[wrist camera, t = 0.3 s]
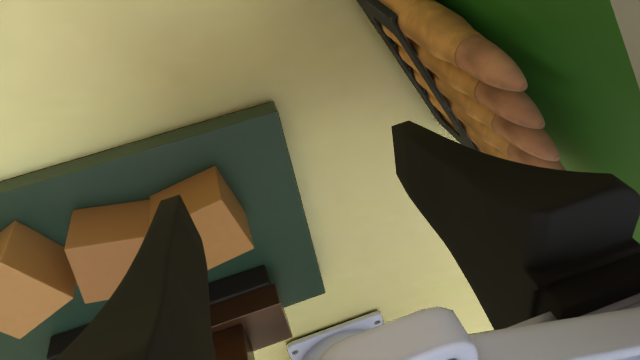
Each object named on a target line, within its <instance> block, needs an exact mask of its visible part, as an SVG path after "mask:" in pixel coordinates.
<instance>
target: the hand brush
mask: <svg viewBox="0 0 640 360" xmlns="http://www.w3.org/2000/svg"><path fill="white" fill-rule="evenodd" d="M208 285H209V301H210V318H211V330H212V339H213V344H214V350H215V356H216V360H255V358H254V353H253V351H255V350H258V349H261V348H264V347H266V346H269V345H272V344H275V343H277V342H280V341H283V340H286V339H289V338H291V337H292V333H291V329H290V326H289V322H288V319H287V316H286V313H285V310H284V307H283V305H282V302H281V299H280V296H279V294H278V291H277V288H276V285H275V284H271V281H270V278H269V275H268V273H267V270H266V267H265V265H261V266H258V267H255V268H252V269H249V270H246V271H243V272H240V273H237V274H235V275H232V276H229V277H226V278H223V279H220V280H217V281H214V282H211V283H208ZM88 325H89V324H87V325H84V326H81V327H78V328H75V329H72V330H69V331H66V332H63V333H60V334H57V335H54V336H52V337H51V338H50V343H49V348H48V353H47V360H55V359H56V358H57V357H58V356H59V355H60V354H61V353H62V352H63V351H64V350H65V349H66V348H67V347H68V346H69V345H70V344H71V343H72V342H73V341H74V340H75V339H76V338H77V337H78V336H79V335H80V334H81V333H82V331H83V330H84V329H85V328H86V327H87V326H88Z"/></svg>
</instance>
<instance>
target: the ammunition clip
mask: <svg viewBox="0 0 640 360" xmlns="http://www.w3.org/2000/svg"><path fill="white" fill-rule="evenodd" d="M357 1H358V3H359V4H360V6H361V7H362V9H363V10H364V12H365V13H366V15H367V16H368V18H369V19H370V21H371V22H372V24H373V25H374V27H375V28H376V30H377V31H378V33H379V34H380V36H381V37H382V39H383V40H384V42H385V43H386V45H387V46H388V48H389V49H390V50H391V52H392V53H393V55H394V56H395V58H396V59H397V61H398V62H399V64H400V65H401V67H402V68H403V70H404V71H405V73H406V74H407V76H408V77H409V79H410V80H411V82H412V83H413V85H414V86H415V88H416V89H417V91H418V92H419V94H420V95H421V97H422V98H423V100H424V101H425V103H426V104H427V106H428V107H429V109H430V110H431V112H432V113H433V115H434V116H435V117H436V119H437V120H438V122H439V123H440V124H441V125H442V126H443V127H444V128H445V129H446V130H447V131H448V132H449V133H450V134H451V135H452V136H453V137H454V138H455V139H456V140H457V141H459V142H460V143H461V144H462V145H464V146H467V147H469V148H472V149H475V150H477V151H480V152H483V153H486V154H489V155H492V156H495V157H499V158H503V159H506V160H510V161H514V162H518V163H522V164H528V165H533V166H538V167H543V168H550V169H557V170H566V169H565V168H564V167H563V165H562V164H561V162H560V161H559V159H560V155H559V152H558V150H557V147H556V146H555V144H554V142H553V141H552V139H551V138H550V136H549V135H548V134H547V132H546V131H545V130H544V129H543V127H544V126H545V122H544V119H543V116H542V114H541V112H540V110H539V109H538V107H537V106H536V105H535V103H534V102H533V101H532V99H531V98H530V97H529V96H528V95H527V94H526V93H525V92H524V91H525V90H526V89H527V87H528V84H527V81H526V78H525V76H524V74H523V72H522V71H521V69H520V68H519V67H518V65H517V64H516V63H515V62H514V60H513V59H512V58H511V57H510V56H509V55H508V54H506V53H505V52H504V51H503V50H502V49H500V48H499V47H498V46H497V45H495V44H494V43H492V42H491V41H489V40H488V39H486V38H485V37H484V36H483V35H482V34H480V33H479V32H477V31H476V30H474V29H473V28H472V26H471V25H470V24H469V23H468V22H467V21H466V20H465V19H464V18H463V17H461V16H460V15H459V14H457V13H455V12H454V11H452V10H450V9H449V8H447V7H445V6H443V5H442V4H440V3H438V2H436V0H357Z"/></svg>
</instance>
